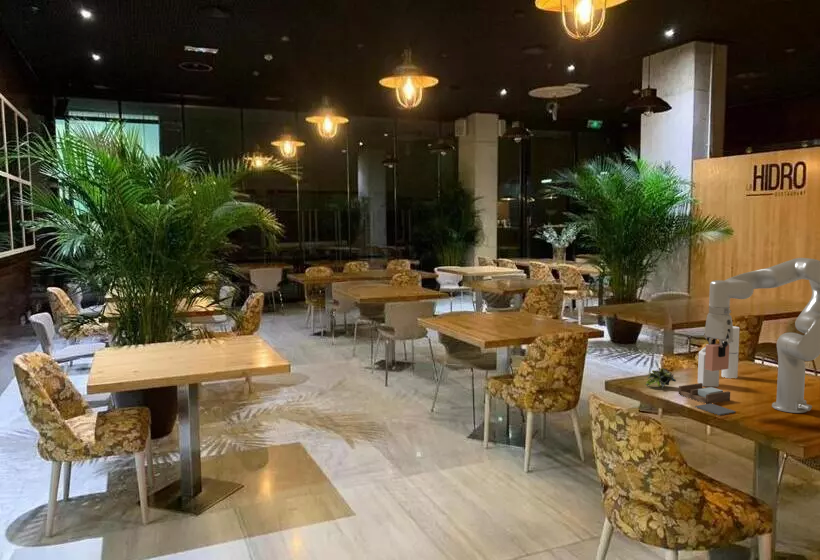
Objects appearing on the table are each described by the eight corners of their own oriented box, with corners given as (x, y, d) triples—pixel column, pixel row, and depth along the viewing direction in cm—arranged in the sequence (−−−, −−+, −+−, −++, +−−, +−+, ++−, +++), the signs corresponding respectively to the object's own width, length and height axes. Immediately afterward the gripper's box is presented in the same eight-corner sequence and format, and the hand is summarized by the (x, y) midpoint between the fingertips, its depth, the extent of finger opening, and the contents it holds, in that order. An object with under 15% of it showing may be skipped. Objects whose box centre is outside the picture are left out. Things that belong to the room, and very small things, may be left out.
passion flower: (662, 397, 293) (678, 377, 292) (664, 399, 282) (680, 378, 281) (641, 382, 296) (657, 362, 295) (642, 383, 286) (659, 363, 285)
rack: (729, 400, 268) (730, 391, 267) (707, 404, 263) (707, 395, 262) (700, 391, 282) (700, 383, 282) (678, 394, 277) (679, 386, 277)
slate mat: (735, 412, 251) (735, 411, 251) (719, 415, 248) (719, 414, 248) (711, 404, 262) (711, 403, 262) (695, 407, 259) (695, 405, 259)
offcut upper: (722, 396, 268) (723, 390, 267) (709, 398, 265) (709, 392, 264) (711, 392, 273) (711, 387, 273) (697, 394, 270) (697, 389, 270)
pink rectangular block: (728, 368, 253) (729, 344, 252) (712, 371, 250) (712, 346, 249) (721, 367, 256) (722, 343, 256) (704, 369, 253) (705, 345, 252)
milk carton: (712, 383, 297) (714, 344, 295) (718, 387, 290) (720, 347, 288) (697, 382, 297) (698, 343, 295) (702, 386, 290) (704, 346, 288)
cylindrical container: (718, 375, 310) (720, 326, 307) (727, 374, 313) (729, 325, 310) (730, 379, 303) (732, 328, 301) (740, 377, 306) (742, 327, 304)
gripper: (743, 313, 245) (741, 358, 246) (709, 307, 260) (707, 350, 262) (729, 314, 242) (727, 360, 244) (695, 308, 257) (694, 352, 259)
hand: (717, 355), depth 253 cm, fingers closed on pink rectangular block, 3 cm apart
